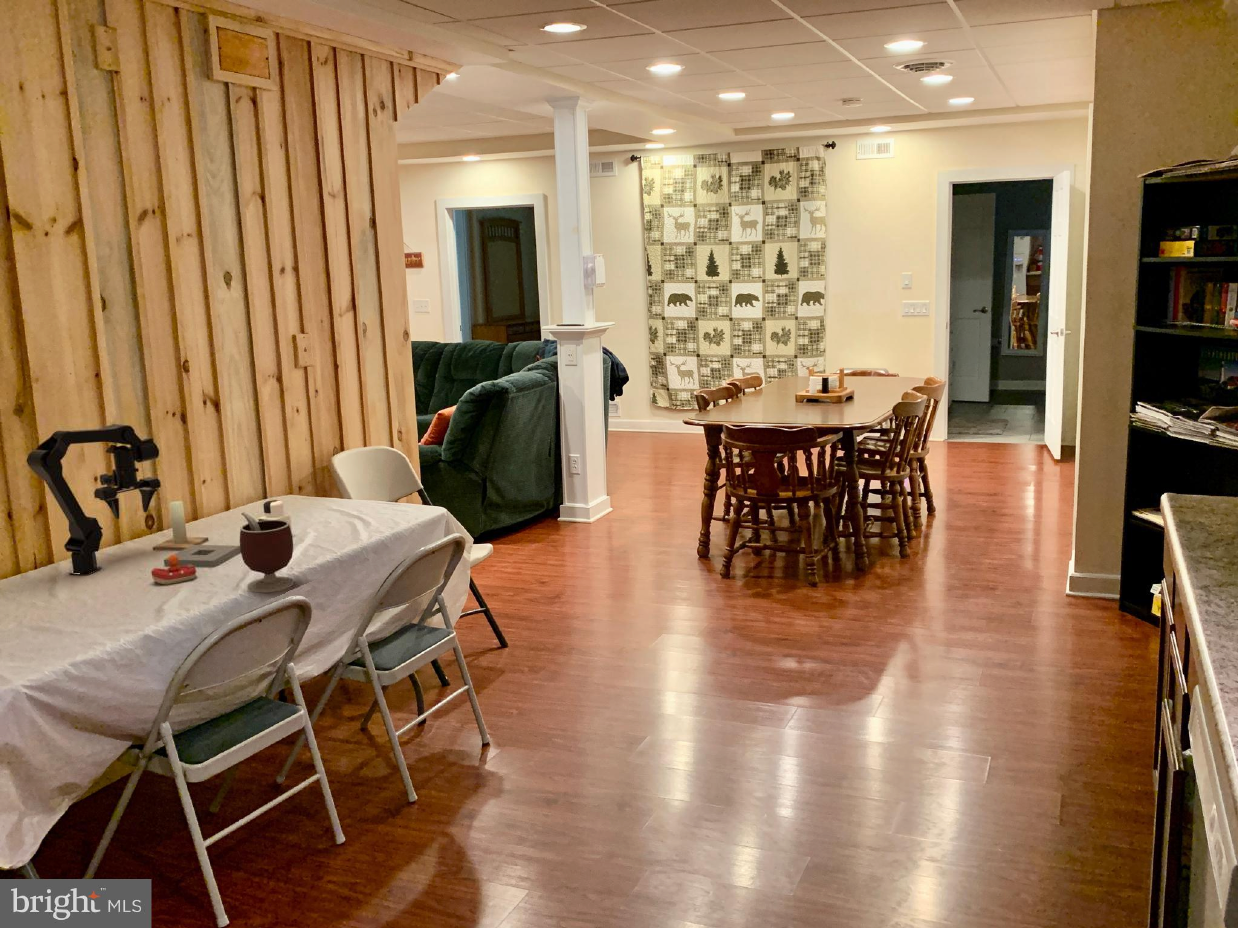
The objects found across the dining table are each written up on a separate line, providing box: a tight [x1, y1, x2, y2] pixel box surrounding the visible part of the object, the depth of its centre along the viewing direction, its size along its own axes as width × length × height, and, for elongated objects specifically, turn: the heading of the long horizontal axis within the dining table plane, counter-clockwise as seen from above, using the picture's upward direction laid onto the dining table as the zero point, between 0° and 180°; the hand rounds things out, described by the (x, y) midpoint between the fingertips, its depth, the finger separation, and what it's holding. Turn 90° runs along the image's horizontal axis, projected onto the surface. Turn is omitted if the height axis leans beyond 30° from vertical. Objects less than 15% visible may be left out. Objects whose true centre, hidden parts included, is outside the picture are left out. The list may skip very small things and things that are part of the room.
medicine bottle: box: [258, 499, 293, 534], centre depth 346 cm, size 7×7×12 cm
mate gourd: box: [239, 512, 295, 593], centre depth 295 cm, size 16×14×20 cm
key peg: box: [168, 500, 188, 544], centre depth 339 cm, size 4×4×13 cm
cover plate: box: [163, 544, 241, 568], centre depth 325 cm, size 16×16×2 cm
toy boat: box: [151, 554, 197, 585], centre depth 304 cm, size 8×12×8 cm, turn 126°
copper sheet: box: [152, 536, 209, 552], centre depth 341 cm, size 12×12×1 cm
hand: (131, 515), depth 327 cm, fingers open, 9 cm apart
